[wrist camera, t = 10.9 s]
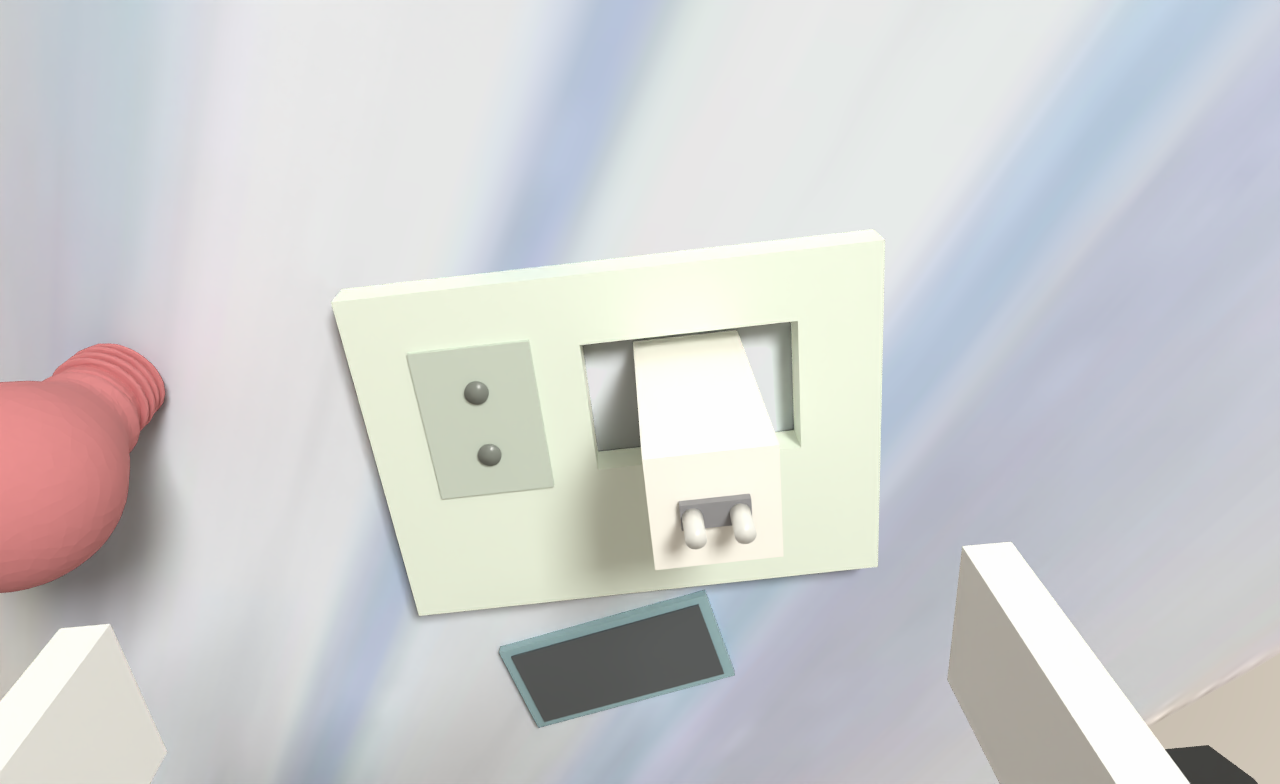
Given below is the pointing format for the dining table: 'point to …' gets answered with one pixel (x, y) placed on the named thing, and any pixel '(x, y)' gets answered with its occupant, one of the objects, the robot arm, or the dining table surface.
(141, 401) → the light bulb
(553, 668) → the phone
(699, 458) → the charger
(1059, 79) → the dining table surface
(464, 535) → the outlet plate
